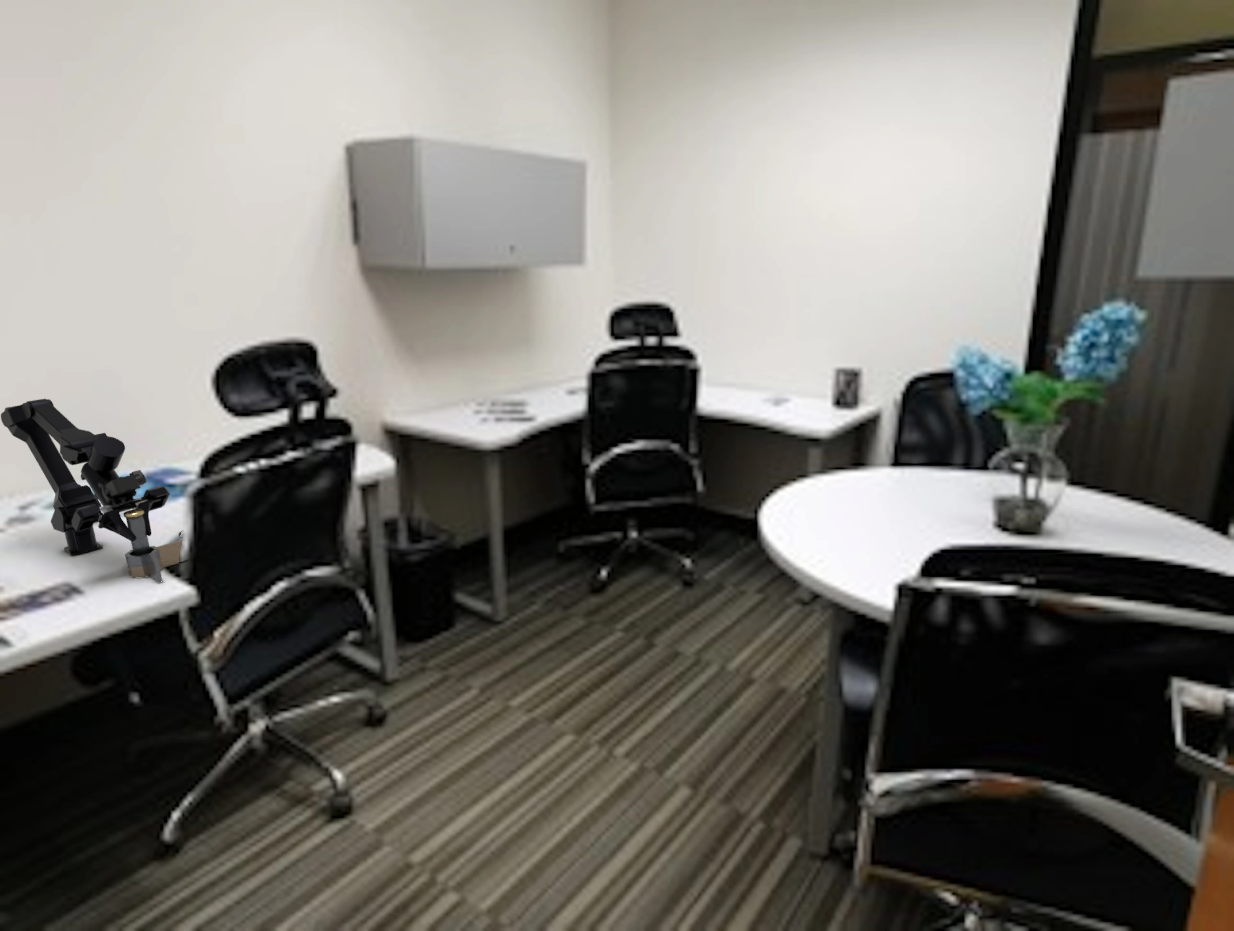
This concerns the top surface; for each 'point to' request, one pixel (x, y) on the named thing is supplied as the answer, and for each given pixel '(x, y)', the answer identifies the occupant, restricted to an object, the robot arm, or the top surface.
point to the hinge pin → (138, 531)
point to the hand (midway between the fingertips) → (142, 537)
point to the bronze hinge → (153, 560)
